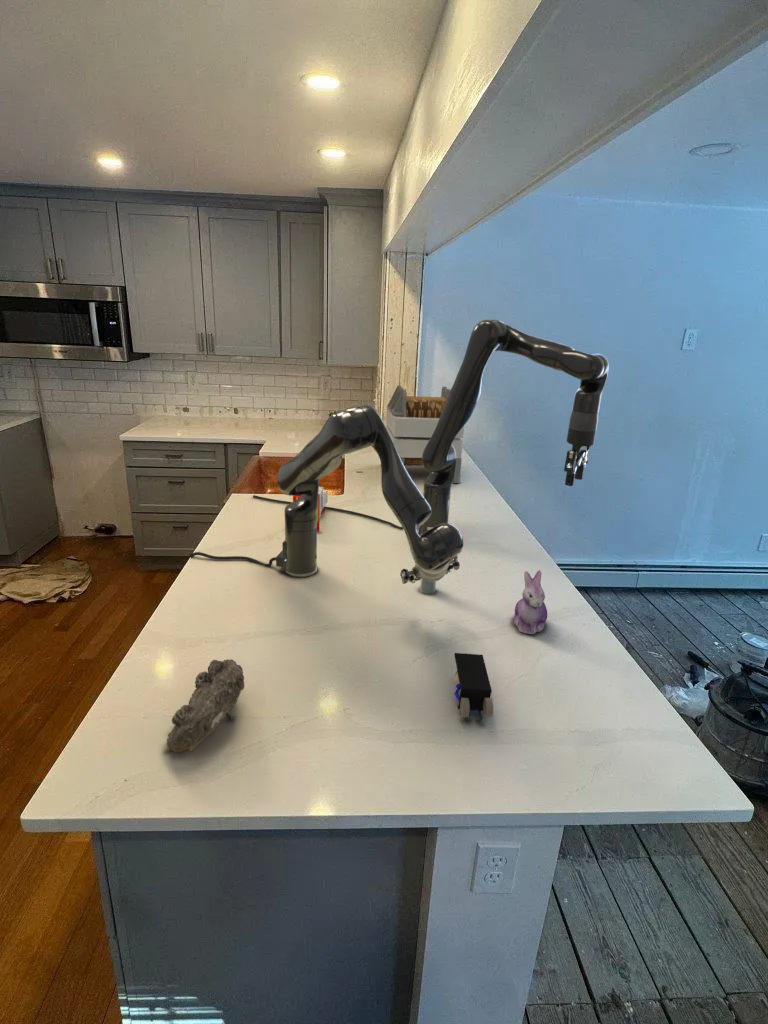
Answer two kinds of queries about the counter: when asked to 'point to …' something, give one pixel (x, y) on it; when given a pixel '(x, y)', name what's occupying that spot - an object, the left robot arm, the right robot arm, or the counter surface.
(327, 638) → the counter surface
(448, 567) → the left robot arm
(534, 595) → the figurine
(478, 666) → the black toy cart
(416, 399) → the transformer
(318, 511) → the toy
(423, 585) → the grey cylinder
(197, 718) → the fossil
